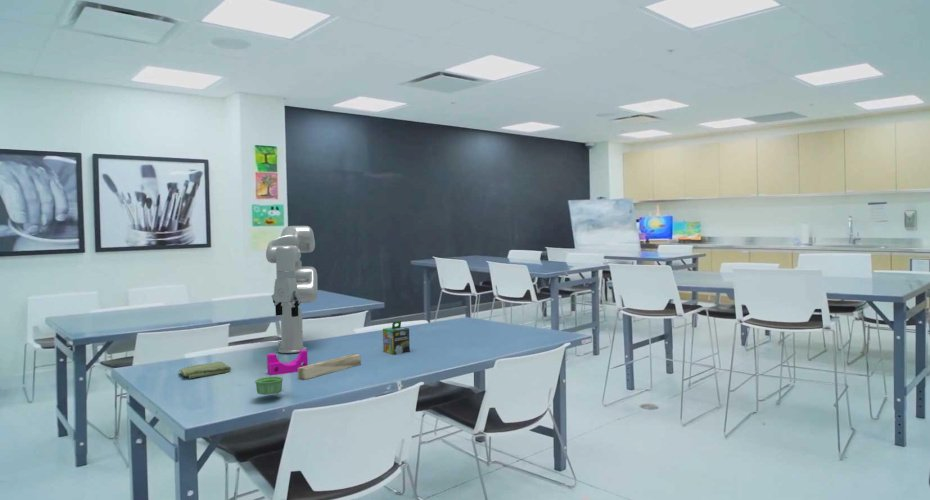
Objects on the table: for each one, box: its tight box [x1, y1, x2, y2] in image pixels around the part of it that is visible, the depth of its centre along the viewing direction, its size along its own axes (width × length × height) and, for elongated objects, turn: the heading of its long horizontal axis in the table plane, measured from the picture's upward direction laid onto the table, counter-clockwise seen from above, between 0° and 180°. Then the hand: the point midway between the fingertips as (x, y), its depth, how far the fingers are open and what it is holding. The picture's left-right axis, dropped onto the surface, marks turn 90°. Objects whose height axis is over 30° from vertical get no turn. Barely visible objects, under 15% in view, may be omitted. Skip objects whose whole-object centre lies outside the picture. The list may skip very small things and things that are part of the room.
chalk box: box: [382, 320, 411, 356], centre depth 261 cm, size 9×9×15 cm
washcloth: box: [178, 360, 232, 379], centre depth 229 cm, size 13×18×3 cm
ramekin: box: [254, 375, 284, 396], centre depth 196 cm, size 9×9×4 cm
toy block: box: [266, 349, 309, 376], centre depth 228 cm, size 15×6×8 cm, turn 121°
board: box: [297, 353, 362, 380], centre depth 226 cm, size 4×30×4 cm, turn 148°
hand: (286, 315), depth 240 cm, fingers open, 9 cm apart
